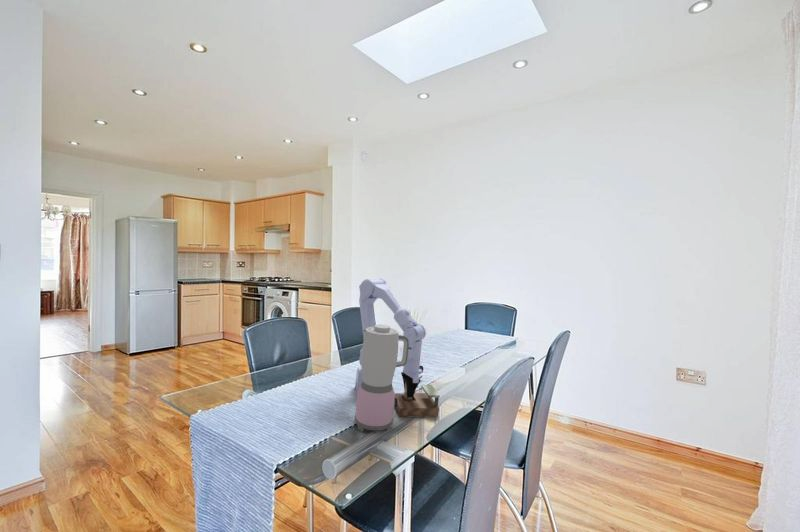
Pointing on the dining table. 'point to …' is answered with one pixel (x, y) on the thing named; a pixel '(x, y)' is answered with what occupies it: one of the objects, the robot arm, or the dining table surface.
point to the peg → (406, 395)
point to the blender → (379, 377)
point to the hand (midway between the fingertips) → (408, 394)
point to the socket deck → (419, 403)
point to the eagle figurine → (421, 369)
